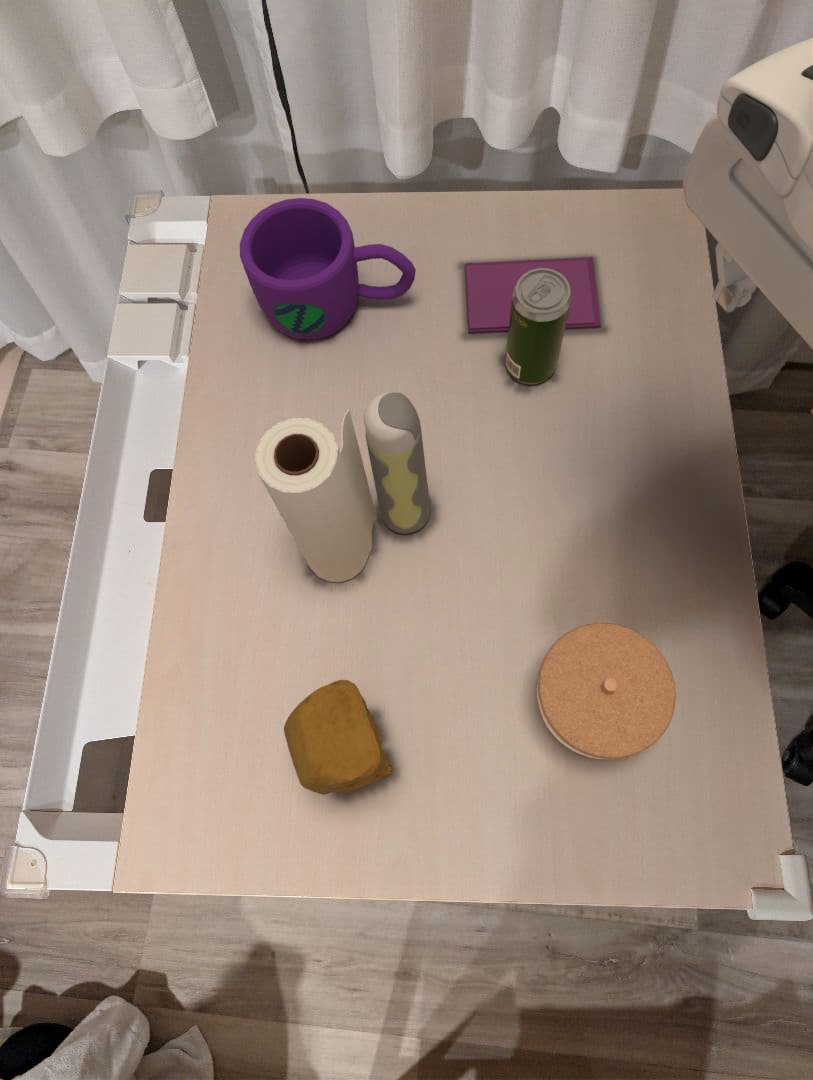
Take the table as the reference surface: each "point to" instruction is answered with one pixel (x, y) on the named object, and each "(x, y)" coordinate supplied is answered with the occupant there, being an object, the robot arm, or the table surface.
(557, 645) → the trinket box
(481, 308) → the flat purple rectangular slab
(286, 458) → the paper towel roll
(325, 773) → the wooden tiki figurine
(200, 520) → the table surface
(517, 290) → the beer can
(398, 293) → the mug
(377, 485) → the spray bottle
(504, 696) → the table surface
